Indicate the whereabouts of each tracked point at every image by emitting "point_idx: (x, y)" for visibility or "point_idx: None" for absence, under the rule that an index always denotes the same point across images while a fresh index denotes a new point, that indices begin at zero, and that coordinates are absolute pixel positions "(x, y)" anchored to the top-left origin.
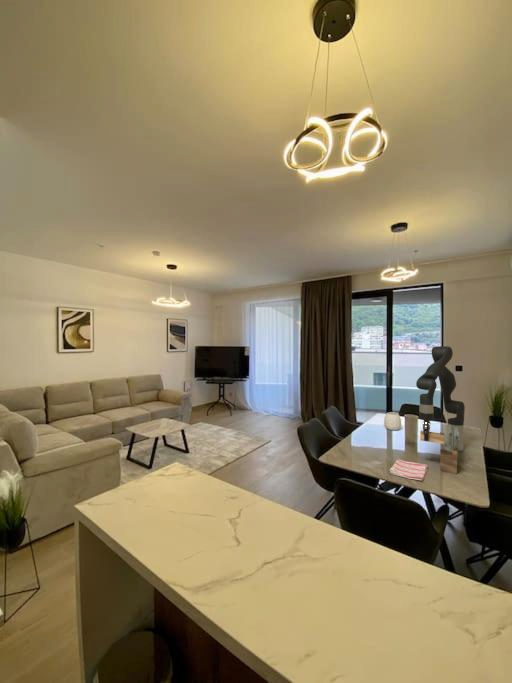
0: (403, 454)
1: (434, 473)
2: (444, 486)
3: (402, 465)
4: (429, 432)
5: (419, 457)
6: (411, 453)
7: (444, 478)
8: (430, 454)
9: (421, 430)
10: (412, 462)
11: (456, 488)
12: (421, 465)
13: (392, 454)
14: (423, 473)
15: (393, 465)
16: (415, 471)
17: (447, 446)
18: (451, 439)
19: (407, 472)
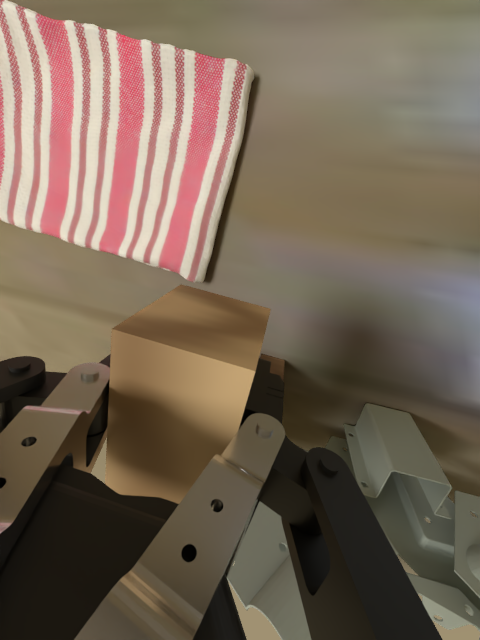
0: (429, 136)
1: (138, 297)
2: (19, 305)
3: (150, 110)
4: (162, 470)
5: (378, 260)
6: (466, 211)
7: (101, 327)
8: (459, 346)
9: (252, 378)
10: (214, 190)
11: (29, 345)
12: (171, 243)
13: (412, 17)
14: (59, 234)
15: (70, 22)
16: (89, 194)
17: (438, 486)
18: (275, 572)
19: (52, 140)
